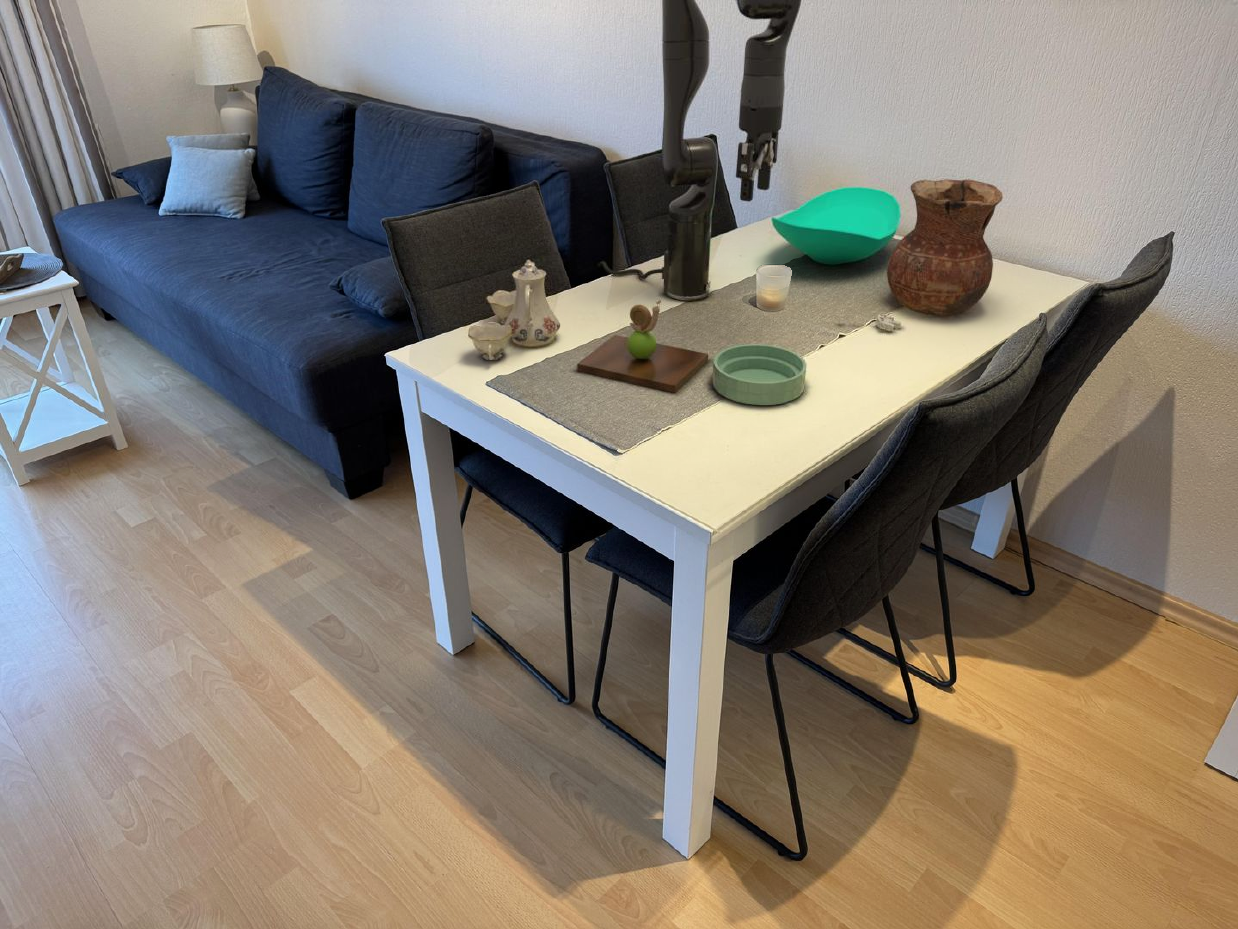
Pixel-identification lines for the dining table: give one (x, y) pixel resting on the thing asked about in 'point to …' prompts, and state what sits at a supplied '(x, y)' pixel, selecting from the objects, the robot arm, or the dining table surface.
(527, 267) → the chinaware
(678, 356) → the walnut board
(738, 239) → the dining table surface
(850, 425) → the dining table surface
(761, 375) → the bowl
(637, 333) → the snail figurine
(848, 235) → the table top decor
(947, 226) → the jug
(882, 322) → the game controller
